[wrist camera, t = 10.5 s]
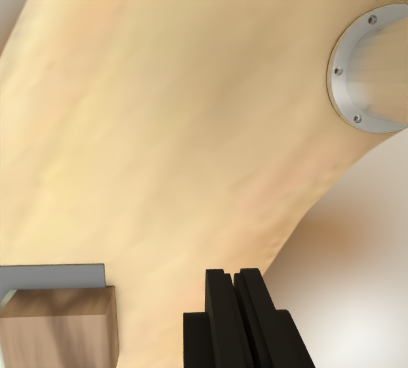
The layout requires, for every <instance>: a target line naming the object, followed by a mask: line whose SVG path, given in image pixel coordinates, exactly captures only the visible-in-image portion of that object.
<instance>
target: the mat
mask: <svg viewBox="0 0 408 368" xmlns="http://www.w3.org/2000/svg"><path fill="white" fill-rule="evenodd" d="M97 287H106V285H105V272H104V264H69V265H23V266H0V302H1V301H2V300H3V298H4V297H5V296H6V295H7V293H8V292H9V291H10V290H21V289H59V288H97Z"/></svg>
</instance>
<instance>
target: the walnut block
mask: <svg viewBox="0 0 408 368" xmlns="http://www.w3.org/2000/svg"><path fill="white" fill-rule="evenodd" d="M118 357H119V347H118V333H117V319H116V305H115V290H114V287H97V288H59V289H21V290H10V291H9V292H8V293H7V295H6V296H5V297H4V298H3V300H2V301H1V302H0V368H116V366H117V361H118Z"/></svg>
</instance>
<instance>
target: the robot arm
mask: <svg viewBox="0 0 408 368" xmlns="http://www.w3.org/2000/svg"><path fill="white" fill-rule="evenodd" d="M368 19H369V20H370V23H369V22H368ZM335 69H337V73H336V74H335V72H334V71H335ZM327 88H328V92H329V97H330V100H331V102H332V104H333V107H334V109H335V110H336V111H337V113H338V114H339V116H340V117H341V118H342V119H343V120H344V121H346V122H347V123H348V124H350V125H351V126H353V127H355V128H357V129H360V130H363V131H366V132H371V133H390V132H395V131H398V130H401V129H404V128H406V127H408V4H390V5H386V6H383V7H379V8H376V9H374V10H372V11H369V12H367V13H366V14H364V15H362V16H361V17H359V18H358V19H356V20H355V21H354V22H353V23H352V24H351V25H350V26H349V27H348V28H347V29H346V30H345V32H344V33H343V34H342V35H341V37H340V38H339V40H338V42H337V43H336V45H335V47H334V49H333V52H332V54H331V57H330V60H329V65H328V71H327ZM354 117H356V119H355V120H354ZM183 361H184V368H315V366H314V364H313V361H312V359H311V357H310V355H309V353H308V351H307V349H306V346H305V344H304V342H303V340H302V338H301V336H300V334H299V332H298V329H297V327H296V325H295V323H294V321H293V319H292V317H291V315H290V313H289V311H288V310H286V309H285V310H276V309H275V307H274V304H273V302H272V300H271V297H270V295H269V292H268V290H267V288H266V285H265V283H264V280H263V278H262V276H261V273H260V271H259V269H258V268H243V269H240V273H235V274H234V286H233V283H232V279H231V276H230V273H226V274H224V270H223V269H206V278H205V312H193V313H183Z"/></svg>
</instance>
